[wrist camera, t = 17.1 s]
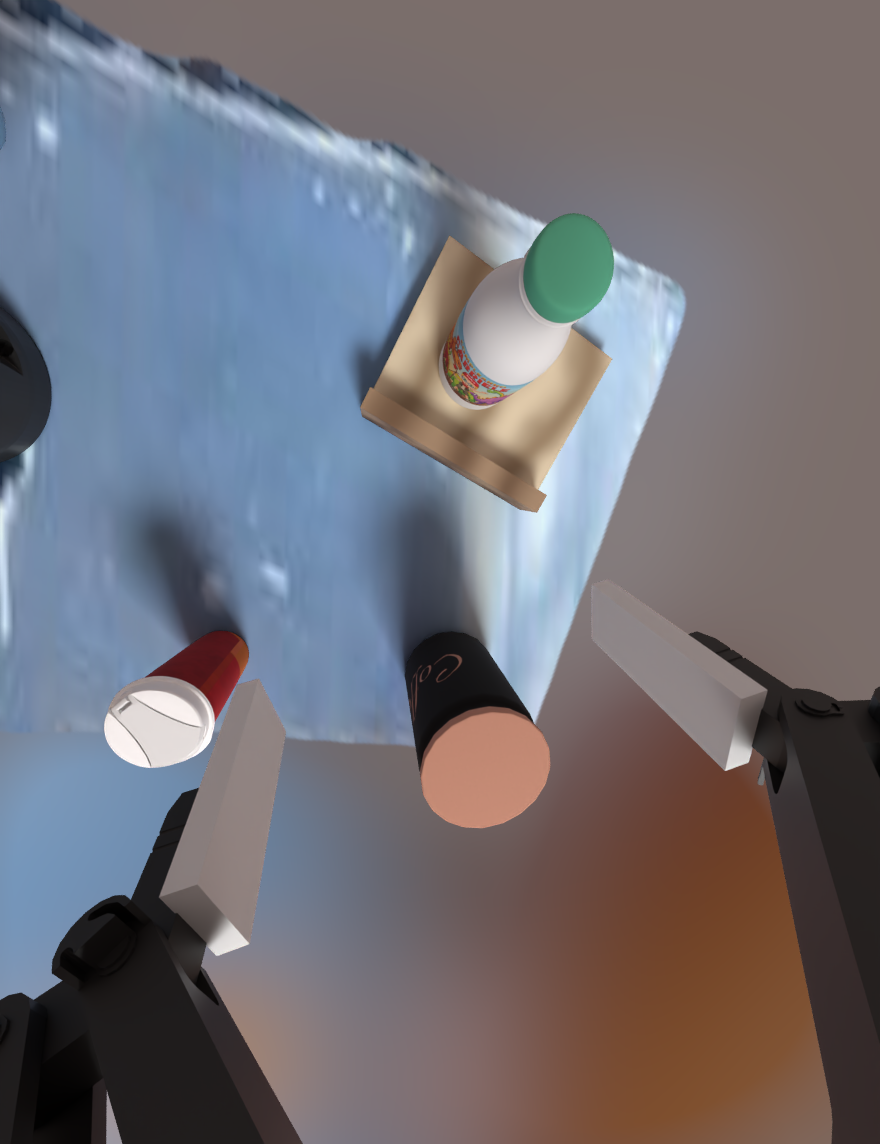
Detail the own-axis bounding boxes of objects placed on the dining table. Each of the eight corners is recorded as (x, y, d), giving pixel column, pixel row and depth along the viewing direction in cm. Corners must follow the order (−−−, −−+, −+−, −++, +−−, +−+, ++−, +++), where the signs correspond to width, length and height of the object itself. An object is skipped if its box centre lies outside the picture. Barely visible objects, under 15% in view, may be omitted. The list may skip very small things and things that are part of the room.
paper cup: (168, 651, 42) (71, 730, 29) (222, 607, 42) (150, 664, 29) (223, 698, 44) (157, 792, 31) (275, 656, 44) (231, 732, 31)
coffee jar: (440, 610, 46) (479, 686, 29) (506, 657, 49) (577, 752, 32) (386, 679, 47) (392, 793, 30) (453, 721, 50) (495, 848, 33)
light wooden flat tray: (362, 416, 40) (360, 407, 35) (445, 247, 38) (455, 213, 33) (519, 509, 45) (536, 512, 40) (601, 364, 43) (630, 349, 38)
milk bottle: (458, 310, 38) (549, 133, 18) (524, 353, 40) (670, 232, 20) (424, 387, 39) (478, 294, 19) (490, 424, 41) (599, 373, 21)
